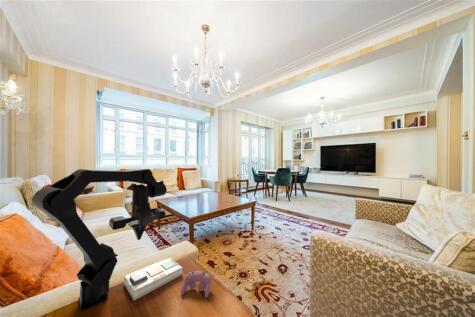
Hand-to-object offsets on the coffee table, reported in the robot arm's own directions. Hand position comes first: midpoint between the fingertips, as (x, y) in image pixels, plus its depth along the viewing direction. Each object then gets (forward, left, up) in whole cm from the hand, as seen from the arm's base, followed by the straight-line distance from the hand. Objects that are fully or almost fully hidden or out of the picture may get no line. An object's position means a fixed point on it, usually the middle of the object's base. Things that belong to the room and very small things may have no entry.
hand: (138, 239), depth 67 cm
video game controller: (+11, -24, -13) cm, 30 cm away
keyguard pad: (+3, -9, -13) cm, 16 cm away
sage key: (+8, -9, -12) cm, 17 cm away
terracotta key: (+3, -9, -12) cm, 15 cm away
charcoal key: (-2, -9, -11) cm, 14 cm away
